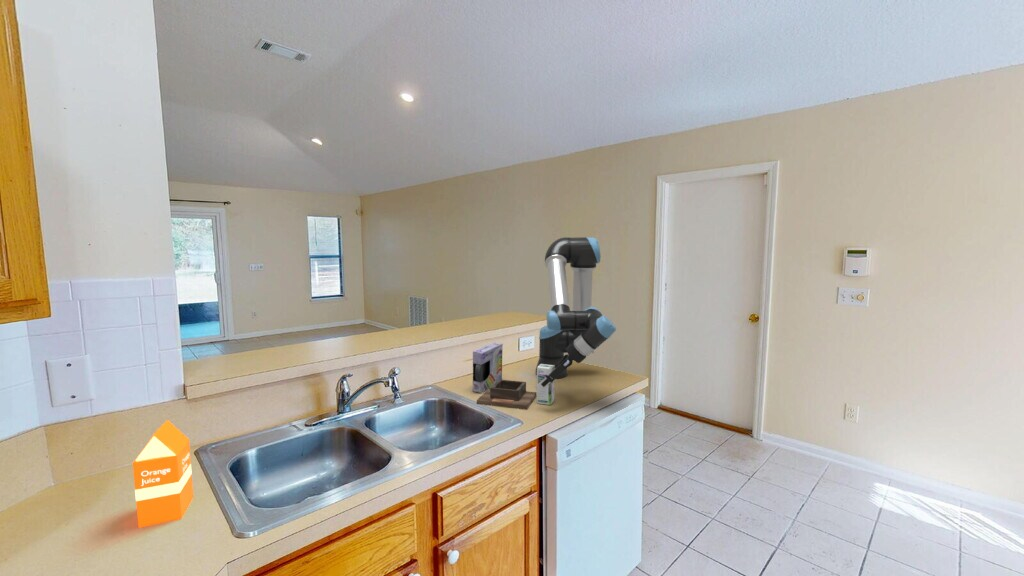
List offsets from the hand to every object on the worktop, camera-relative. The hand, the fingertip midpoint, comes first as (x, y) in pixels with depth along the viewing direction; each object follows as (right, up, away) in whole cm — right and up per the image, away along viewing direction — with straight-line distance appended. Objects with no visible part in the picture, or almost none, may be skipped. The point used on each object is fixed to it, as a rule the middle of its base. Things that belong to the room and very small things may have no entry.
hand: (540, 384), depth 161 cm
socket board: (-13, -7, +3) cm, 15 cm away
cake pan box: (-22, -5, +18) cm, 29 cm away
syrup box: (+2, -7, 0) cm, 7 cm away
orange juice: (-89, -14, -67) cm, 113 cm away
